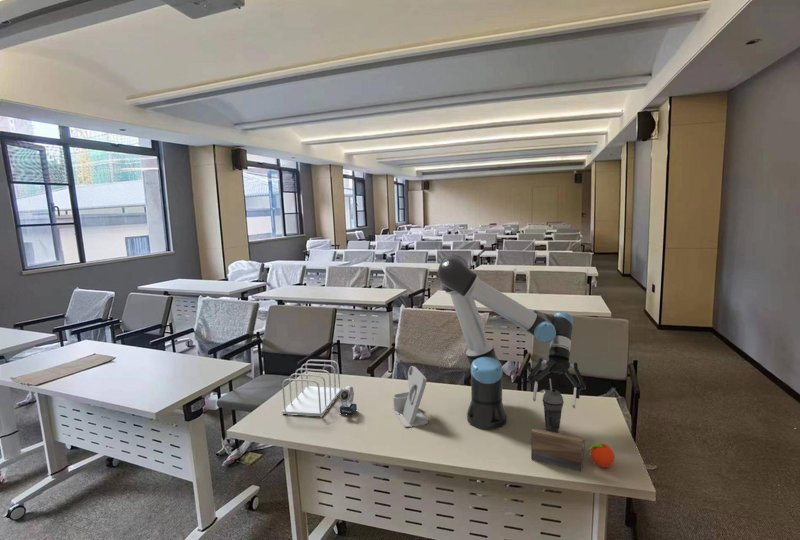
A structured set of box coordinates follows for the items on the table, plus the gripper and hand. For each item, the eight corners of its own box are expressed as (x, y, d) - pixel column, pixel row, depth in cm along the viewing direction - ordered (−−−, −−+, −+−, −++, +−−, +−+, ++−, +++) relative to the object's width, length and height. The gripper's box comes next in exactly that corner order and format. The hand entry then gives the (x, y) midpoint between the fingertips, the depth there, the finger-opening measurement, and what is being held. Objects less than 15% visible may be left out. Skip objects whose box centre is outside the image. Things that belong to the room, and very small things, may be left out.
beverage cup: (564, 436, 153) (565, 383, 150) (543, 434, 155) (544, 382, 152) (561, 426, 160) (562, 375, 157) (540, 424, 162) (541, 374, 159)
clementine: (589, 471, 133) (590, 449, 132) (584, 458, 140) (584, 437, 139) (617, 472, 132) (618, 451, 131) (610, 459, 138) (611, 439, 137)
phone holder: (392, 408, 179) (390, 367, 176) (415, 404, 182) (414, 364, 179) (404, 428, 162) (403, 383, 160) (429, 423, 165) (428, 379, 163)
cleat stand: (580, 471, 133) (581, 441, 131) (531, 459, 140) (531, 431, 138) (584, 448, 145) (585, 420, 144) (538, 438, 152) (539, 412, 151)
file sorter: (307, 389, 200) (305, 357, 198) (342, 392, 197) (340, 359, 195) (282, 415, 176) (279, 379, 174) (322, 418, 173) (319, 381, 170)
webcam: (338, 416, 173) (336, 390, 172) (346, 407, 181) (345, 382, 179) (350, 418, 171) (349, 392, 170) (358, 409, 179) (357, 384, 177)
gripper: (595, 358, 163) (591, 413, 152) (527, 350, 174) (519, 400, 163) (594, 349, 157) (591, 405, 146) (525, 341, 169) (517, 393, 157)
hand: (553, 403), depth 155 cm, fingers open, 13 cm apart
